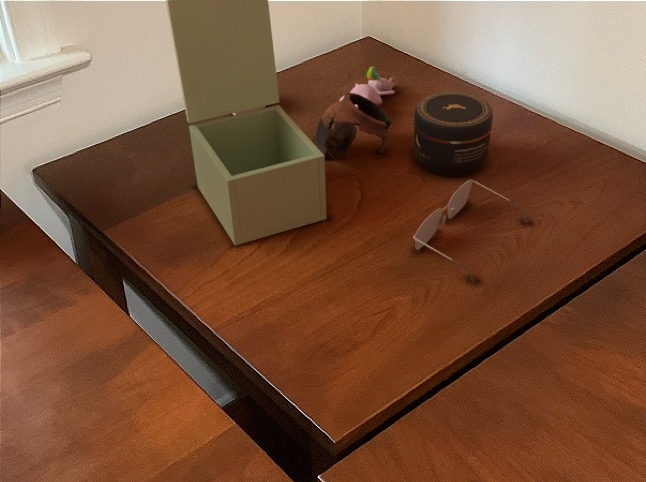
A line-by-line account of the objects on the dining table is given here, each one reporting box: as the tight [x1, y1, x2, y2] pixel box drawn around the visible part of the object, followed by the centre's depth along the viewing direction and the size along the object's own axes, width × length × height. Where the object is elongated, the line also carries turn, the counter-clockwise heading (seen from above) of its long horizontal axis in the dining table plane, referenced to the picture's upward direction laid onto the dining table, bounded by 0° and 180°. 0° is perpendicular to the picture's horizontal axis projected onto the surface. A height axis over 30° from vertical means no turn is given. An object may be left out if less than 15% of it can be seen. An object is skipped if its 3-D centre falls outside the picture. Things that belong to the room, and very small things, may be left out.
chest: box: [188, 104, 327, 246], centre depth 98 cm, size 14×12×9 cm
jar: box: [412, 90, 494, 178], centre depth 106 cm, size 10×10×8 cm
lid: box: [165, 0, 280, 124], centre depth 97 cm, size 14×12×5 cm
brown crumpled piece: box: [313, 92, 392, 160], centre depth 108 cm, size 12×10×8 cm
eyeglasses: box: [412, 178, 528, 282], centre depth 93 cm, size 14×8×4 cm, turn 145°
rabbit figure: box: [338, 65, 396, 108], centre depth 118 cm, size 6×6×15 cm
